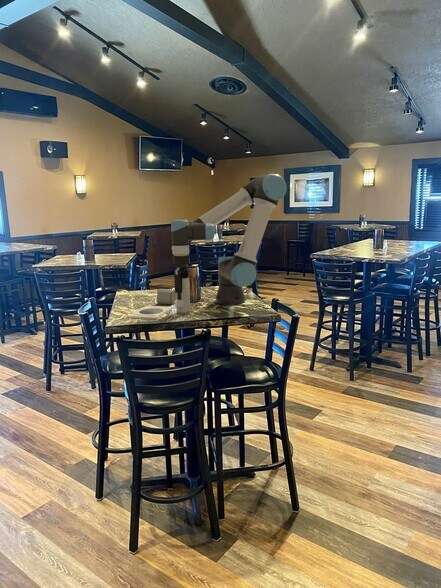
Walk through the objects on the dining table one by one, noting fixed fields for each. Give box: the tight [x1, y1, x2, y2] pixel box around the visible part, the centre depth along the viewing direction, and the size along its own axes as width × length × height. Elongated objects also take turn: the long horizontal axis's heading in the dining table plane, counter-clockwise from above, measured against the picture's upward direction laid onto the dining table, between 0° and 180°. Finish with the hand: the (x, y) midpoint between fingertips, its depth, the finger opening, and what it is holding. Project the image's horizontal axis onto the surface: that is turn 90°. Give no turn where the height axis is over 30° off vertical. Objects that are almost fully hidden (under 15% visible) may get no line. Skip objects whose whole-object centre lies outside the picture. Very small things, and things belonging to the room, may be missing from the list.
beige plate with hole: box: [127, 305, 174, 320], centre depth 203 cm, size 14×20×1 cm
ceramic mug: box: [156, 288, 176, 305], centre depth 222 cm, size 11×8×8 cm
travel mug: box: [175, 270, 191, 316], centre depth 199 cm, size 6×7×20 cm
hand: (183, 304), depth 200 cm, fingers closed on travel mug, 6 cm apart
